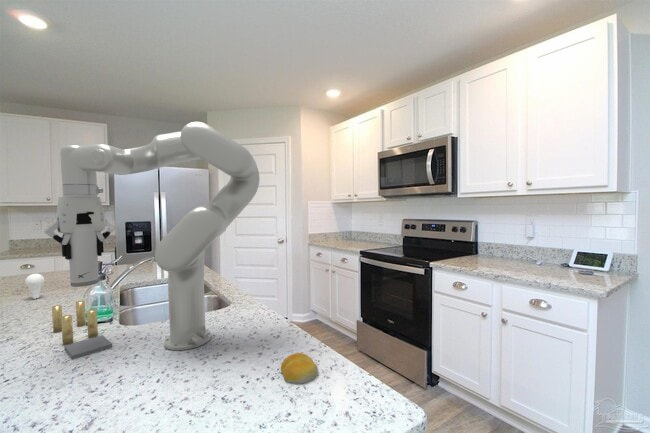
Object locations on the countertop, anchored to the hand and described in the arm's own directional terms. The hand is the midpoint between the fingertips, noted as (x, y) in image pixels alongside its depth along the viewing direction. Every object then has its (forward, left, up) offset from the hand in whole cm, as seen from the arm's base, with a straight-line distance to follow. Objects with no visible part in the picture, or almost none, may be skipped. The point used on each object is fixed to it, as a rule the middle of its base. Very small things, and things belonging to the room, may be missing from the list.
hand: (83, 256), depth 87 cm
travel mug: (0, 0, -8) cm, 8 cm away
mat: (0, 0, -26) cm, 26 cm away
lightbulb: (+76, +2, -26) cm, 80 cm away
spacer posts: (+16, 0, -26) cm, 30 cm away
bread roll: (-55, -28, -26) cm, 67 cm away
